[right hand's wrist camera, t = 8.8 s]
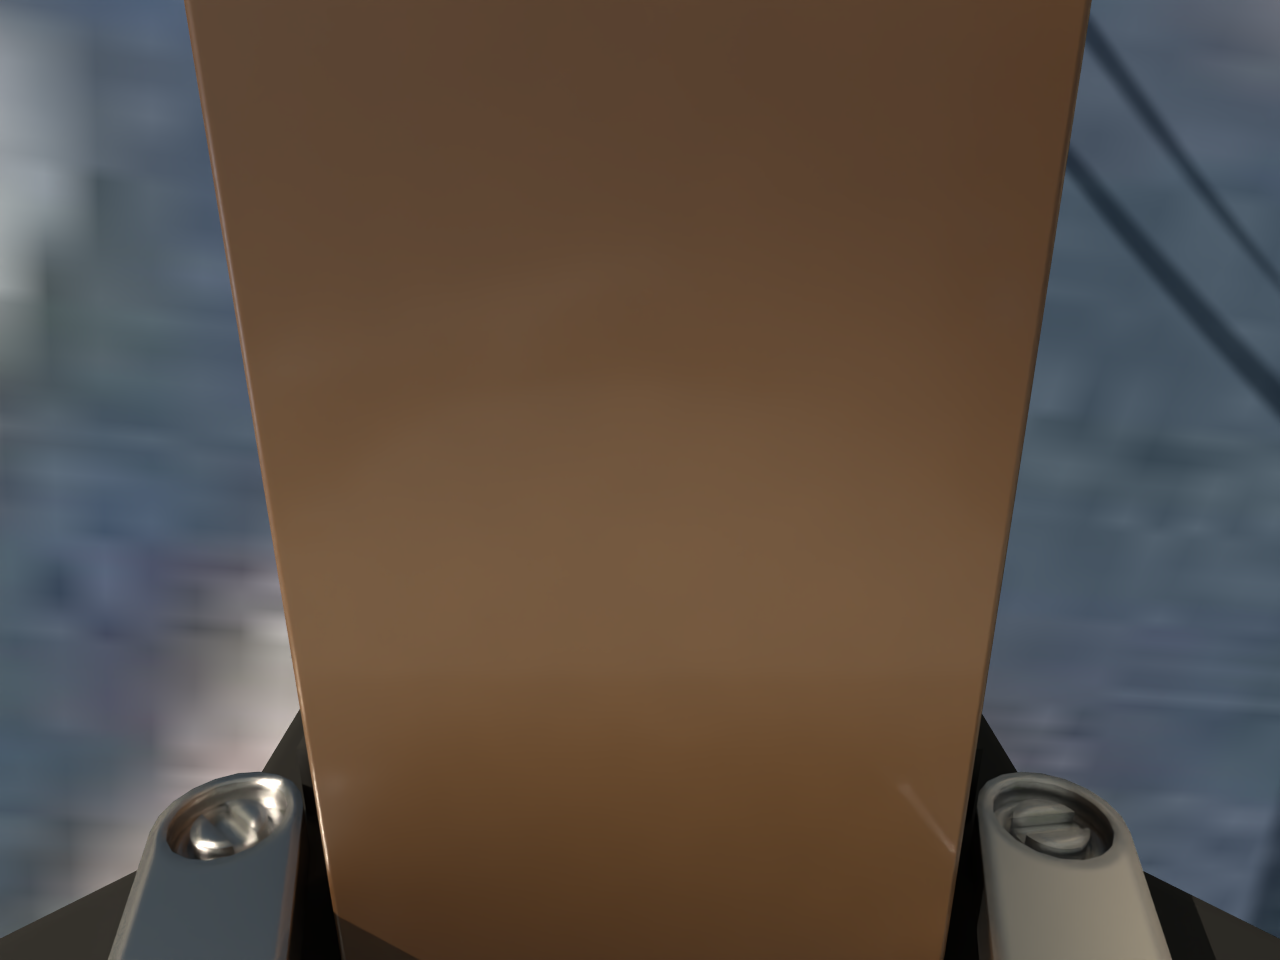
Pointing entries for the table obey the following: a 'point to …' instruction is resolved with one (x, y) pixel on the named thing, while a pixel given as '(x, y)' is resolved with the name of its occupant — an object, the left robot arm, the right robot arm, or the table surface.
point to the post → (640, 447)
